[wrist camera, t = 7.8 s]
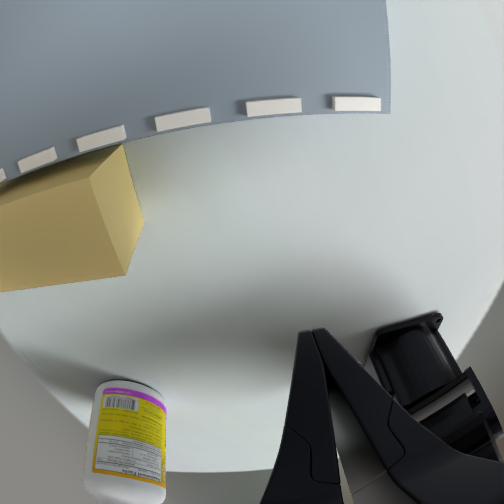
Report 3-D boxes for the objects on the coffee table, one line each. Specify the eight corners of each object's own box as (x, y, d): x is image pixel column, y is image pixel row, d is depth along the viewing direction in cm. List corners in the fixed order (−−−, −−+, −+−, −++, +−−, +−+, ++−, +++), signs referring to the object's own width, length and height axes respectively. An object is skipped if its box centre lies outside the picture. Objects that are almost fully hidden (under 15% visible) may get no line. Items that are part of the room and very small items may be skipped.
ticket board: (342, -84, 6) (367, -104, 4) (363, 103, 12) (394, 115, 9) (-26, 10, 5) (-59, 11, 3) (2, 174, 11) (-27, 197, 9)
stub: (122, 143, 12) (89, 177, 8) (144, 222, 14) (125, 275, 11) (-2, 185, 11) (-45, 224, 8) (24, 246, 14) (-7, 293, 10)
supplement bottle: (139, 415, 26) (134, 530, 16) (84, 388, 23) (66, 515, 12) (182, 400, 24) (185, 535, 14) (122, 368, 21) (107, 525, 10)
